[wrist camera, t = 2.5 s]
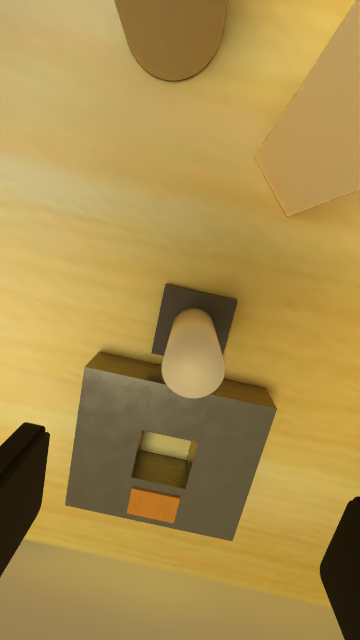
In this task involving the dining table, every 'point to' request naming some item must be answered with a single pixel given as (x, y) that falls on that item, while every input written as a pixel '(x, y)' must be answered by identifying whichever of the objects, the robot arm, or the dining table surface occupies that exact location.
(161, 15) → the travel mug
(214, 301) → the pad
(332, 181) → the milk
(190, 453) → the block
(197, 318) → the peg
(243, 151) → the dining table surface
